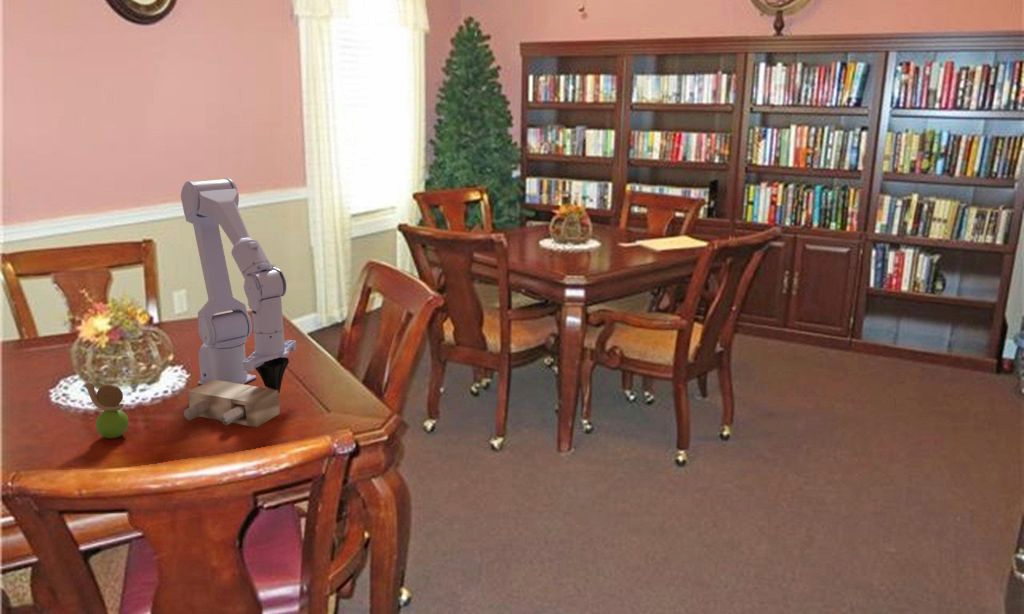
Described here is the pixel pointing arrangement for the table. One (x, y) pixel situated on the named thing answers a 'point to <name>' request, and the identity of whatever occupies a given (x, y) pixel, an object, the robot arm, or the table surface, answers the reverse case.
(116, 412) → the snail figurine
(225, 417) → the lynch pin
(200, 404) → the beige block with pegs
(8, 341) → the table surface
